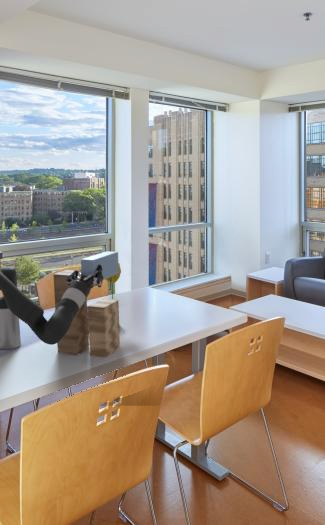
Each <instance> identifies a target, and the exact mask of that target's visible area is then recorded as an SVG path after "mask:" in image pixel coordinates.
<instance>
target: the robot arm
mask: <svg viewBox="0 0 325 525" xmlns="http://www.w3.org/2000/svg"><path fill="white" fill-rule="evenodd" d="M101 271H102V266H101V265H98V267H97V268H96V270H95V272H94V273H91V274H90V275H89V276H83V275H82V272H81V268H80V269H79V270H77V269H75V270H74V272H73V273H72V274H71V275H70V276H69V277H68V278H67V279H66V280H67V283H68V285H69V287H68V289H67V290H66V292H65V293H64V295H63V297H62V299H61V301H60V302H59V304H58V305H57V307H56V309H54V312H53V314H52V315H51V317H50V318H49V319H46V318H45V316H44V314H45V311H44V309H43V307H41V306H40V305H39V304H38V303H37V302H36V301H34V300H32V299H31V298H30V297H28V296H27V295H26V294H25V293H24V292H23V291H21V290H20V289H19V288H18V274H17V270H16V268H15V267H11V266H10V267H0V291H1V293H2V296H1V297H0V350H14V349H16V348H19V347H20V346H21V345H22V342H21V340H22V338H21V328H20V325H21V324H20V321H22V322H24V324H26V325H27V326H28V327H29V328H30V330H31V331H32V332H33V333H34V334H35V336H36V337H37V338H38V339H39V340H40V341H42V342H43V343H45V344H47V345H50V346H51V345H53V346H54V345H56V344H57V343H58V342H59V341H60V340H61V338H62V337H63V336H64V335H65V334H66V333H67V331H68V329H69V327H70V325H71V323H72V320H73V319H74V317H75V315H76V314H77V312H78V310H79V309H80V308H81V307H82V305H83V303H84V302H85V300H86V298H88V296H89V295H90V293H91V289H93V288H94V287H98V288H102V285H103V281H104V280H103V275H102V272H101ZM74 275H75V276H74ZM95 275H96V276H95ZM91 277H92V278H91ZM92 279H93V280H92Z"/></svg>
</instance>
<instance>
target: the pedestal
mask: <svg viewBox="0 0 325 525" xmlns="http://www.w3.org/2000/svg"><path fill="white" fill-rule="evenodd" d="M74 271H75V270H74V269H73V270H72V269H65V270H61V271H59V272H56V273H53V275H52V276H53V292H54V308H55V309H56V307H57V305H58V304H59V302H60V301H61V299H62V297H63V295H64V293H65V292H66V290H67V289H68V287H69V285H68V283H67V280H66V279H67V278H68V277H69V276H70V275H71V274H72V273H73V272H74ZM74 276H75V275H74ZM87 298H88V297H87ZM87 298H86V300H85V302H84V303H83V305H82V307H81V308H80V309H79V310H78V312H77V314H76V315H75V317H74V319H73V320H72V323H71V325H70V327H69V329H68V331H67V333H66V334H65V335H64V336H63V337H62V338H61V340H60V341H59V342H58V343H56V344H57V353H60V354H67V355H73V356H78V355H79V354H81V353H83V352H84V351H85V350H87V349H90V339H89V332H88V317H87V306H88V299H87ZM55 309H54V310H55Z"/></svg>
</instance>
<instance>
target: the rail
mask: <svg viewBox="0 0 325 525" xmlns="http://www.w3.org/2000/svg"><path fill="white" fill-rule="evenodd" d="M118 263H119V251H108V250H107V251H104V252H100V253H97V254H93V255H91V256H90V255H89V256H87V257H85V258H81V259H80V269H81V272H82V275H83V276H89V275H90V274H91V273H94V272H95V270H96V268H97V267H98V265H101V266H102V271H101V272H102V275H103V281H105V280H106V279H107V278H109V277H112V276H114V275H116V274H118ZM95 276H96V275H95ZM91 278H92V277H91ZM92 280H93V279H92Z"/></svg>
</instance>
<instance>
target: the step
mask: <svg viewBox="0 0 325 525" xmlns="http://www.w3.org/2000/svg"><path fill="white" fill-rule="evenodd" d="M87 306H88V317H89V332H88V339H89V355H90V356H91V357H92V356H93V357H100V358H107V357H109V356H110V355H111V354H113V353H114V352H116V351H117V350H118V349H119V348H121V341H120V339H121V338H120V308H119V299H114V298H113V299H112V298H111V299H109V298H102V299H100V300H98V301H95V302H94V303H92V304H90V305H87Z"/></svg>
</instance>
